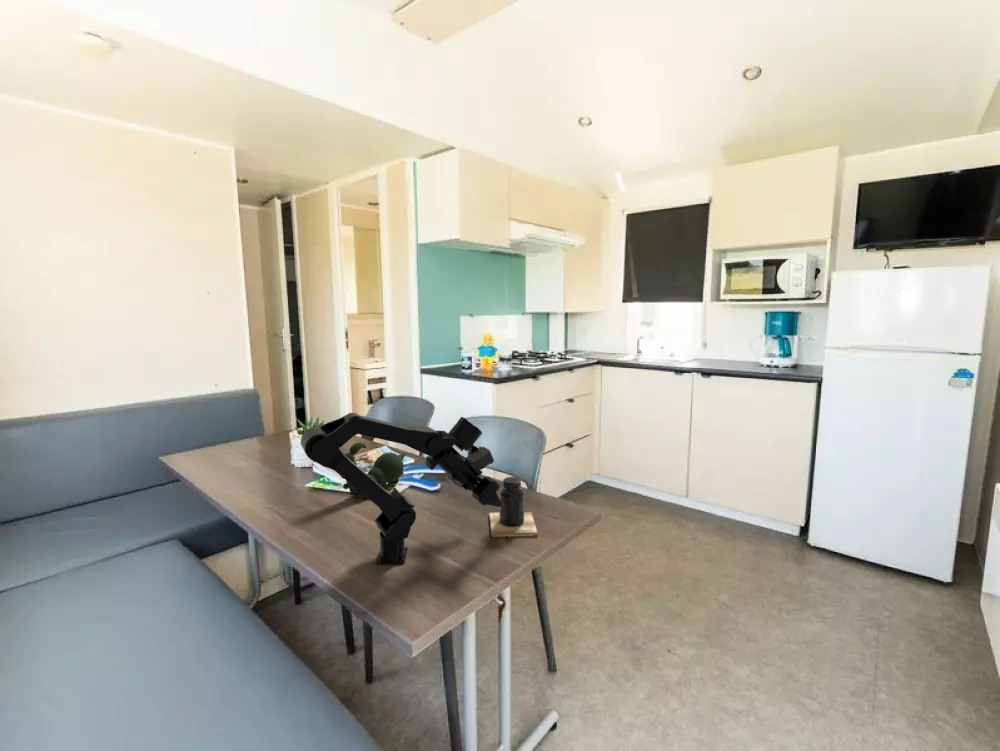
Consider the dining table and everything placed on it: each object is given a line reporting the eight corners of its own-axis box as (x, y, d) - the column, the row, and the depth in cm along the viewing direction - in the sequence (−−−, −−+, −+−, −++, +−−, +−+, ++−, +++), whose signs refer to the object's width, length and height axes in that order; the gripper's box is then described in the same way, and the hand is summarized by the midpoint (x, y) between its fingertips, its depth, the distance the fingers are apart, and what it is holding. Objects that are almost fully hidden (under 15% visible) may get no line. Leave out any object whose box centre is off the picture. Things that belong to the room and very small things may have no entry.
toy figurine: (359, 512, 139) (417, 479, 159) (353, 452, 135) (413, 426, 155) (338, 504, 144) (397, 473, 164) (331, 446, 140) (392, 422, 160)
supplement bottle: (516, 514, 133) (517, 473, 132) (528, 524, 127) (529, 482, 125) (494, 518, 130) (495, 477, 128) (506, 529, 124) (507, 486, 122)
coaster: (537, 536, 123) (537, 532, 123) (491, 536, 123) (491, 532, 122) (531, 515, 135) (531, 511, 135) (489, 516, 134) (489, 512, 134)
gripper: (493, 449, 111) (530, 486, 118) (458, 430, 127) (493, 464, 134) (463, 487, 108) (502, 522, 116) (431, 462, 124) (467, 495, 131)
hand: (491, 498), depth 124 cm, fingers open, 9 cm apart
